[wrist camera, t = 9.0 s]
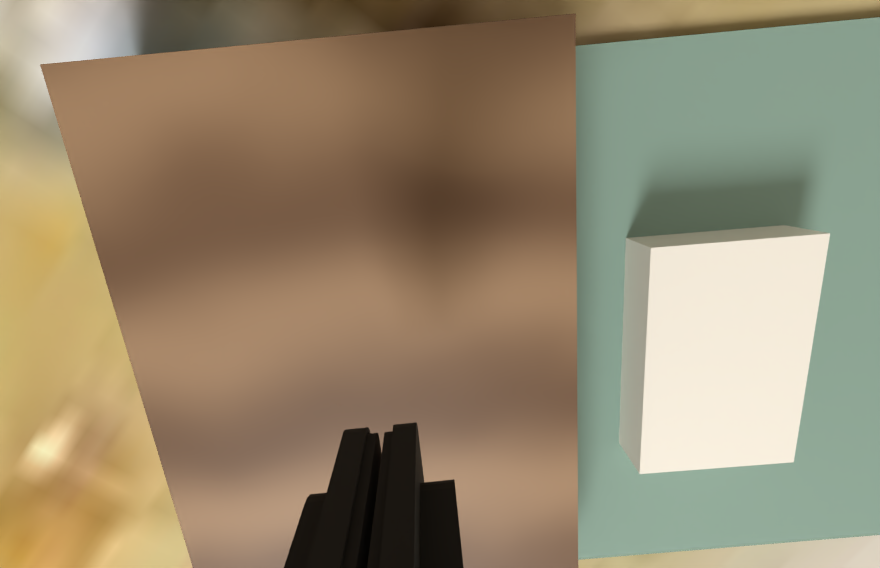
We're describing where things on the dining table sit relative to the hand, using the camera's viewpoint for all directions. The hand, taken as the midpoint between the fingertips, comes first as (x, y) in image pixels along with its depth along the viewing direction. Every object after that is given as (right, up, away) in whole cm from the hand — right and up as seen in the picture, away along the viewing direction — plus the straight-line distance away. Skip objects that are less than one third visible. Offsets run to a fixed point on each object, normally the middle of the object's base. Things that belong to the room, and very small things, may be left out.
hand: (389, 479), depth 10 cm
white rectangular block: (+12, +2, +7) cm, 14 cm away
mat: (+14, +3, +8) cm, 16 cm away
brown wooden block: (-1, +1, +8) cm, 8 cm away
